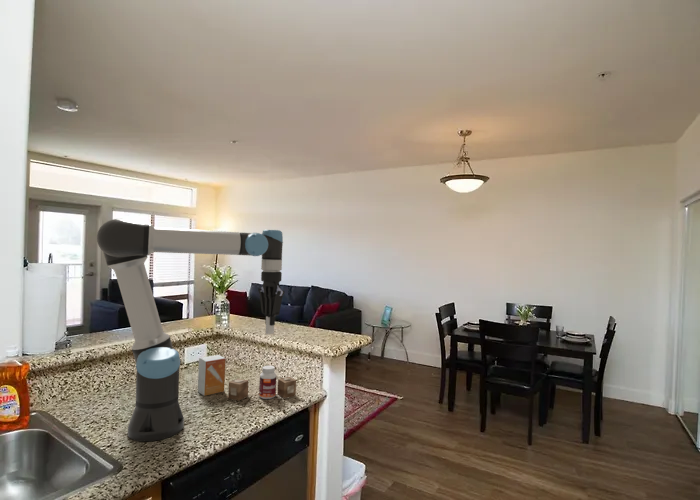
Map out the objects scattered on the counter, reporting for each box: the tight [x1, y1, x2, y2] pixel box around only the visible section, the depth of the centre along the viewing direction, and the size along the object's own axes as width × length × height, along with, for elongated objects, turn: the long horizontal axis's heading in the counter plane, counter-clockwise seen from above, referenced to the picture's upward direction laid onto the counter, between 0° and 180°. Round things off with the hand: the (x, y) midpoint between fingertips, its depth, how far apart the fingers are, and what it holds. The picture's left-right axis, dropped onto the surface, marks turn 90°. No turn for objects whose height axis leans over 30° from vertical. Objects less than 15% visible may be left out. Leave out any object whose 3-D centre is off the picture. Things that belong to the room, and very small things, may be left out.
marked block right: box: [277, 376, 297, 399], centre depth 150 cm, size 5×5×6 cm
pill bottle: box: [258, 365, 277, 400], centre depth 148 cm, size 6×6×11 cm
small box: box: [197, 354, 226, 397], centre depth 151 cm, size 8×6×13 cm
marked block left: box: [227, 377, 249, 402], centre depth 146 cm, size 5×5×6 cm
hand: (269, 333), depth 148 cm, fingers closed
